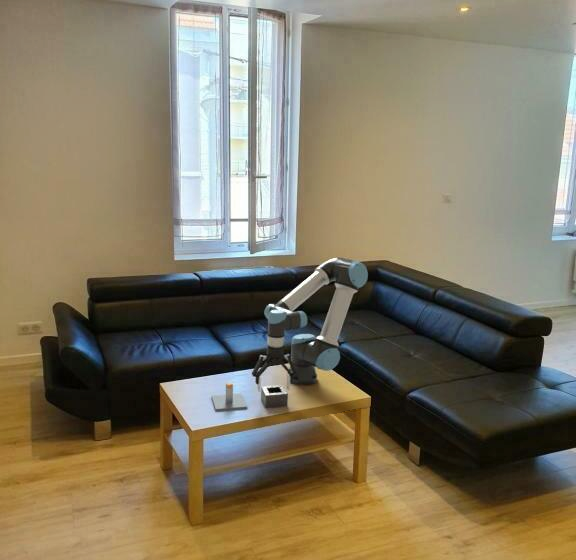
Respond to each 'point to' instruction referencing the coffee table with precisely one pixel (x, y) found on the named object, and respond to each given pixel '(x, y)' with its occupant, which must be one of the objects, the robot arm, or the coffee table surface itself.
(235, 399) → the keeper
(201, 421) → the coffee table surface
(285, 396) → the hollow square block
